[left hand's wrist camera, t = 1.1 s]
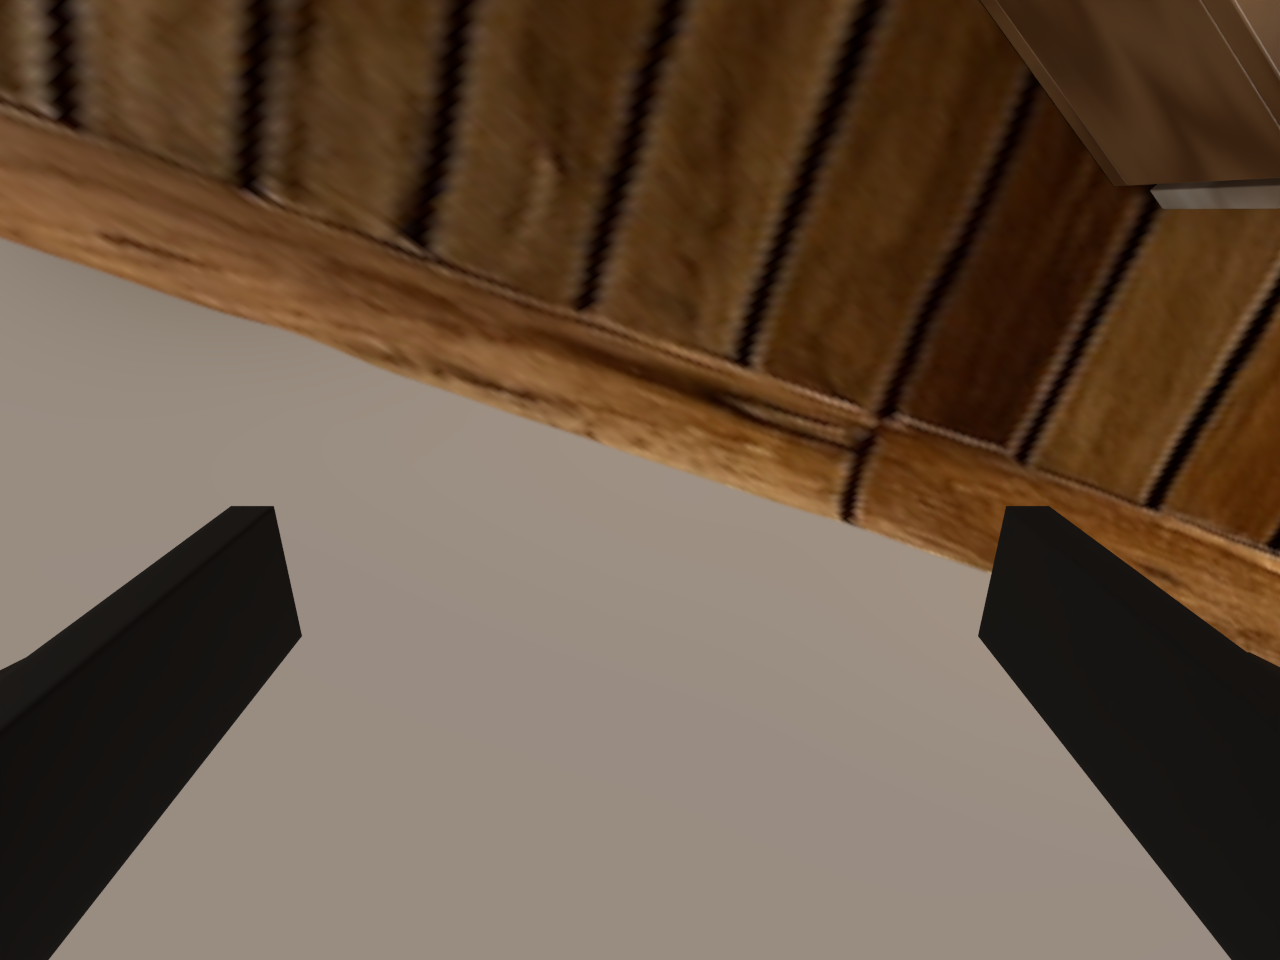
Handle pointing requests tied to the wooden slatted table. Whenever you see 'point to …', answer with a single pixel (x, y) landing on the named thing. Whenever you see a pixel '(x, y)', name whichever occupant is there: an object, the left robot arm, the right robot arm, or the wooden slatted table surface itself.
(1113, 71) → the cabinet
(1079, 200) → the wooden slatted table surface
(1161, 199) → the drawer
